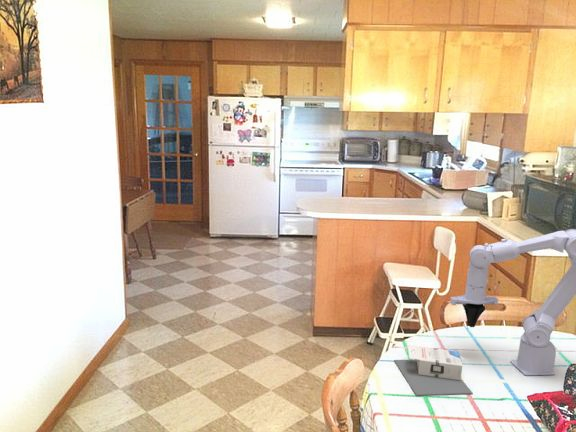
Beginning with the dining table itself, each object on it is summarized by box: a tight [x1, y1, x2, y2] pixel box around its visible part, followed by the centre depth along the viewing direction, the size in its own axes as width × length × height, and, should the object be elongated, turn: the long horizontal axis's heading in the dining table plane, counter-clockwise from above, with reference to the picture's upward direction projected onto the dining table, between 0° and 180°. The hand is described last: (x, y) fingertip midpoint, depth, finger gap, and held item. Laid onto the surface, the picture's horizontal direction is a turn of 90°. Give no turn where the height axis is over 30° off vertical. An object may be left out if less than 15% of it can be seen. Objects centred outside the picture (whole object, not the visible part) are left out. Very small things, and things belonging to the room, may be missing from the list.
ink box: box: [407, 345, 463, 380], centre depth 137 cm, size 9×5×15 cm
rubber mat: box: [393, 359, 474, 397], centre depth 134 cm, size 16×18×1 cm
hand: (470, 325), depth 144 cm, fingers closed
